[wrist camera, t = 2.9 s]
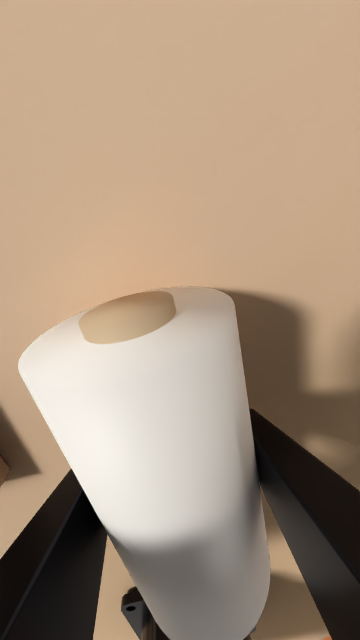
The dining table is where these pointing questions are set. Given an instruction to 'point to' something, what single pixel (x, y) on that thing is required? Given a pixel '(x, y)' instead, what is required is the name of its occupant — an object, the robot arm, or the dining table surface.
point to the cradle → (3, 470)
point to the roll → (163, 450)
